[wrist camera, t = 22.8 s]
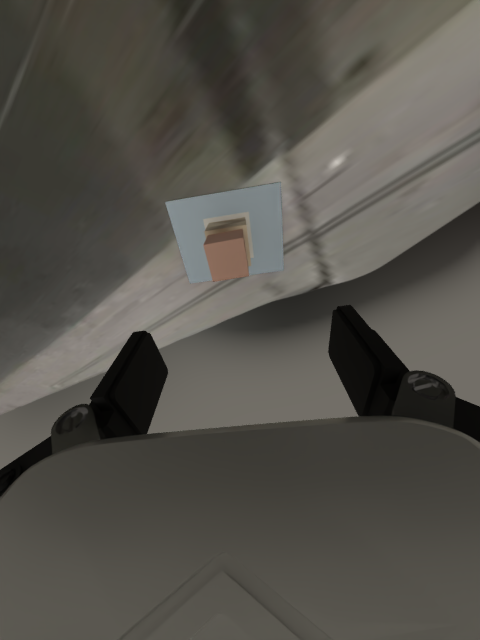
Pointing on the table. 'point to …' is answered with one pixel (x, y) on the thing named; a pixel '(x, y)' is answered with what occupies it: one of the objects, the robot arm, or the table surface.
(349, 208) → the table surface
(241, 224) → the base block
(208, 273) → the board
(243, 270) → the top block
